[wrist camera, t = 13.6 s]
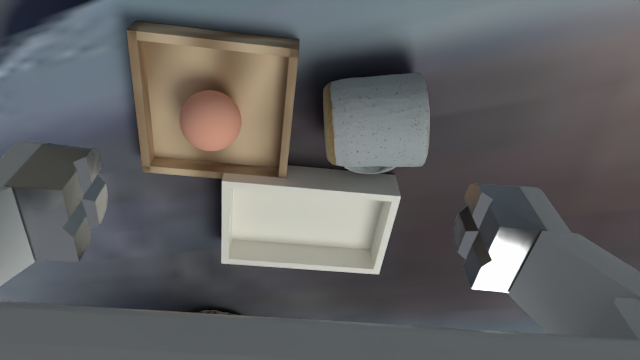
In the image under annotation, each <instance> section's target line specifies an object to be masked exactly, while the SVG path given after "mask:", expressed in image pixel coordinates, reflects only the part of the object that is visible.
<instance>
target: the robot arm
mask: <svg viewBox="0 0 640 360" xmlns="http://www.w3.org/2000/svg"><path fill="white" fill-rule="evenodd" d="M102 167H103V164H102V159H101V155H100V152H99V151H98V150H97V149H96V148H89V147H80V146H71V145H62V144H53V143H44V142H33V141H18V142H15V143H14V144H13V145H12V146H11V147H10V148H9V149H8V150H7V151H6V152H5V153H4V154H3V155H2V156H1V157H0V286H1V285H3V284H4V283H5V282H7V281H8V280H10V279H11V278H13V277H14V276H15V275H17V274H18V273H20V272H21V271H23V270H24V269H26V268H27V267H28V266H30V265H31V264H33V263H34V262H35V261H34V260H47V261H70V262H79V261H80V259H81V257H82V255H83V254H84V252H85V250H86V248H87V247H88V245H89V243H90V241H91V234H90V230H91V229H93V228H95V227H97V226H98V225H100V223H101V221H102V219H103V217H104V214H105V210H106V206H107V187H106V183H105V182H104V181H103V180H102V179H101V178H100V177H99V176H98V173H99V171H100V170H101V168H102ZM464 199H465V201H466V203H467V205H468V206H467V207H465V208H464V209H463V210H461V211H460V212H459V213H458V215H457V218H456V221H455V224H454V235H453V236H454V244H455V247H456V250H457V252H458V253H459V254H460V255H461V256H462V257H464V258H465V259H466V260H465V263H464V265H463V268H464V271H465V274H466V276H467V279H468V281H469V284H470V287H471V289H476V290H486V291H496V292H507V293H508V295H509V296H510V297H511V298H512V299H513V300H514V301H515V302H516V303H517V304H518V305H519V306H520V307H521V308H522V309H523V310H524V311H525V312H526V313H527V314H528V315H529V316H530V317H531V318H532V319H533V320H534V321H535V322H536V323H537V324H538V325H539V326H540V327H541V328H542V329H543V330H544V331H545V332H546V333H547V334H537V333H520V332H504V331H488V330H472V329H456V328H439V327H423V326H407V325H391V324H375V323H359V322H342V321H325V320H308V319H291V318H275V317H258V316H241V315H224V314H207V313H191V312H175V311H158V310H142V309H125V308H109V307H93V306H76V305H60V304H44V303H27V302H11V301H0V360H640V272H639V271H638V270H636V269H634V268H633V267H631V266H629V265H628V264H626V263H625V262H623V261H621V260H620V259H618V258H617V257H615V256H613V255H612V254H610V253H608V252H607V251H605V250H604V249H602V248H600V247H599V246H597V245H596V244H594V243H592V242H591V241H589V240H587V239H586V238H584V237H583V236H581V235H579V234H574V233H571V231H570V230H569V229H568V227H567V226H566V224H565V223H564V221H563V220H562V219H561V217H560V216H559V214H558V213H557V211H556V210H555V209H554V207H553V206H552V204H551V203H550V201H549V200H548V199H547V197H546V196H545V194H544V193H543V191H542V190H540V189H539V188H537V187H524V186H503V185H489V184H475V183H472V184H471V185H470V186H469V188H468V189H467V192H466V194H465V197H464Z"/></svg>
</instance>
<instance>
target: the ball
mask: <svg viewBox="0 0 640 360" xmlns="http://www.w3.org/2000/svg"><path fill="white" fill-rule="evenodd" d="M179 122H180V128H181V131H182V133H183V135H184V137H185V138H186V139H187V140H188V142H189V143H191V144H192V145H193V146H195V147H196V148H199V149H201V150H205V151H218V150H221V149H224V148H226V147H228V146H229V145H231V144H232V143H233V142H234V141H235V140H236V138H237V136H238V135H239V132H240V129H241V114H240V111H239V108H238V106H237V105H236V103H235V102H234V101H233V100H232V99H231V98H230V97H229V96H227V95H225V94H224V93H221V92H218V91H213V90H206V91H201V92H198V93H196V94H194V95H192V96H191V97H190V98H189V99H188V100H187V101H186V102H185V103H184V105H183V107H182V109H181V112H180V117H179Z"/></svg>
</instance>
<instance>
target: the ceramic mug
mask: <svg viewBox="0 0 640 360" xmlns="http://www.w3.org/2000/svg"><path fill="white" fill-rule="evenodd" d="M323 111H324V131H325V146H326V155H327V160H328V161H329V162H330V163H332V164H333V165H338V166H344V167H345V168H346V169H348V170H350V171H352V172H355V173H361V174H378V173H383V172H387V171H390V170H392V169H394V168H395V167H417V166H422V165H423V164H424V163H425V160H426V158H427V154H428V146H429V129H430V110H429V103H428V92H427V88H426V84H425V81H424V78H423V76H422V75H421V74H420V73H408V74H394V75H383V76H372V77H359V78H347V79H340V80H337V81H333V82H330V83H328V84H327V85H326V86H325V88H324V90H323Z"/></svg>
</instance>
